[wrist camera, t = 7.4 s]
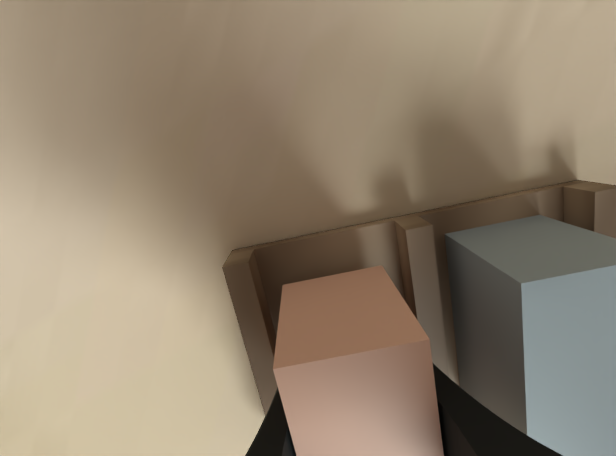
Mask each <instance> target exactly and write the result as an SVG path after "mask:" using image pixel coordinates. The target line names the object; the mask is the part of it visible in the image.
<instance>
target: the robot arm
mask: <svg viewBox="0 0 616 456" xmlns="http://www.w3.org/2000/svg"><path fill="white" fill-rule="evenodd" d="M433 371H434V379H435V387H436V396H437V404H438V412H439V420H440V428H441V437H442V445H443V453H444V456H563V455H561V454H559V453H557V452H555V451H554V450H552V449H550V448H548V447H546V446H544V445H543V444H541V443H539V442H537V441H536V440H534V439H532V438H531V437H529V436H527V435H526V434H524V433H523V432H521V431H520V430H518V429H516V428H515V427H513V426H512V425H510V424H509V423H507V422H506V421H504V420H503V419H501V418H500V417H499V416H497V415H496V414H494V413H493V412H492V411H490V410H489V409H488V408H486V407H485V406H483V405H482V404H481V403H480V402H478V401H477V400H476V399H474V398H473V397H472V396H471V395H469V394H468V393H467V392H466V391H464V390H463V389H462V388H461V387H459V386H458V385H457V384H456V383H455V382H454V381H452V380H451V379H450V378H449V377H448V376H447V375H446V374H444V373H443V372H442V371H441V370H440V369H439V368H438V367H437V366H436V365H435V364H434V363H433ZM245 456H296V452H295V448H294V445H293V441H292V437H291V434H290V430H289V426H288V423H287V419H286V415H285V412H284V408H283V404H282V401H281V397H280V393H279V390H278V387H277V390H276V393H275V395H274V398H273V400H272V403H271V405H270V407H269V410H268V412H267V414H266V416H265V418H264V421H263V423H262V425H261V427H260V429H259V431H258V433H257V435H256V437H255V439H254V441H253V443H252V444H251V446H250V448H249V450H248V452H247V454H246V455H245Z"/></svg>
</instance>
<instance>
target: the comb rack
mask: <svg viewBox="0 0 616 456" xmlns="http://www.w3.org/2000/svg"><path fill="white" fill-rule="evenodd" d="M536 215H542V216H545V217H548V218H551V219H555V220H558V221H561V222H564V223H567V224H571V225H574V226H577V227H580V228H583V229H587V230H590V231H593V232H596V233H599V234H603V235H606V236H609V237H612V238H616V185H609V184H602V183H595V182H588V181H581V180H576V181H571V182H566V183H561V184H556V185H552V186H547V187H542V188H537V189H532V190H527V191H522V192H517V193H512V194H507V195H502V196H497V197H492V198H488V199H483V200H478V201H473V202H468V203H463V204H458V205H453V206H448V207H443V208H438V209H433V210H428V211H424V212H419V213H414V214H409V215H404V216H399V217H394V218H389V219H384V220H379V221H374V222H369V223H364V224H360V225H355V226H350V227H345V228H340V229H335V230H330V231H325V232H320V233H315V234H310V235H305V236H300V237H295V238H291V239H286V240H281V241H276V242H271V243H266V244H261V245H256V246H251V247H246V248H241V249H236V250H233V251H232V252H231V254H230V255H229V257H228V259H227V260H226V262H225V264H224V265H223V267H222V268H223V271H224V275H225V278H226V282H227V285H228V289H229V292H230V295H231V299H232V302H233V306H234V309H235V313H236V316H237V320H238V323H239V326H240V330H241V333H242V337H243V340H244V344H245V347H246V351H247V354H248V357H249V361H250V364H251V368H252V371H253V375H254V378H255V381H256V385H257V388H258V392H259V395H260V399H261V402H262V406H263V409H264V412H265V416H266V414H267V412H268V410H269V407H270V405H271V403H272V400H273V398H274V395H275V393H276V390H277V387H278V386H277V382H276V379H275V375H274V371H273V364H274V356H275V347H276V338H277V330H278V321H279V312H280V304H281V295H282V286H283V285H285V284H290V283H295V282H300V281H305V280H310V279H315V278H320V277H325V276H330V275H335V274H340V273H345V272H350V271H355V270H360V269H365V268H370V267H375V266H380V265H382V266H383V268H384V269H385V271H386V273H387V274H388V276H389V277H390V279H391V280H392V282H393V283H394V285H395V286H396V288H397V290H398V291H399V293H400V294H401V296H402V297H403V299H404V300H405V302H406V303H407V305H408V307H409V308H410V310H411V311H412V313H413V314H414V316H415V317H416V319H417V320H418V322H419V324H420V325H421V327H422V328H423V330H424V331H425V333H426V334H427V336H428V337H429V339H430V346H431V355H432V363H434V364H435V365H436V366H437V367H438V368H439V369H440V370H441V371H442V372H443V373H444V374H446V375H447V376H448V377H449V378H450V379H451V380H452V381H454V382H455V383H456V384H457V385H458V386H459V387H460V382H459V372H458V362H457V352H456V342H455V332H454V322H453V312H452V302H451V292H450V283H449V273H448V263H447V253H446V243H445V234H447V233H451V232H456V231H461V230H466V229H471V228H476V227H481V226H486V225H491V224H496V223H501V222H506V221H511V220H516V219H521V218H526V217H531V216H536Z"/></svg>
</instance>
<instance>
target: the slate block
mask: <svg viewBox="0 0 616 456" xmlns="http://www.w3.org/2000/svg"><path fill="white" fill-rule="evenodd" d="M445 243H446V253H447V263H448V273H449V283H450V292H451V302H452V312H453V322H454V332H455V342H456V352H457V362H458V372H459V382H460V387H461V388H462V389H463V390H464V391H466V392H467V393H468V394H469V395H471V396H472V397H473V398H474V399H476V400H477V401H478V402H480V403H481V404H482V405H483V406H485V407H486V408H488V409H489V410H490V411H492V412H493V413H494V414H496V415H497V416H499V417H500V418H501V419H503V420H504V421H506V422H507V423H509V424H510V425H512V426H513V427H515V428H516V429H518V430H520V431H521V432H523V433H524V434H526V435H527V436H529V437H531V438H532V439H534V440H536V441H537V442H539V443H541V444H543V445H544V446H546V447H548V448H550V449H552V450H554V451H555V452H557V453H559V454H561V455H563V456H616V238H612V237H609V236H606V235H603V234H599V233H596V232H593V231H590V230H587V229H583V228H580V227H577V226H574V225H571V224H567V223H564V222H561V221H558V220H555V219H551V218H548V217H545V216H542V215H536V216H531V217H526V218H521V219H516V220H511V221H506V222H501V223H496V224H491V225H486V226H481V227H476V228H471V229H466V230H461V231H456V232H451V233H447V234H445Z"/></svg>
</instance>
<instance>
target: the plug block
mask: <svg viewBox="0 0 616 456" xmlns="http://www.w3.org/2000/svg"><path fill="white" fill-rule="evenodd" d="M273 371H274V375H275V379H276V382H277V386H278V390H279V393H280V397H281V401H282V404H283V408H284V412H285V415H286V419H287V423H288V426H289V430H290V434H291V437H292V441H293V445H294V448H295V452H296V456H444V453H443V445H442V437H441V428H440V420H439V412H438V404H437V396H436V387H435V379H434V371H433V363H432V355H431V346H430V339H429V337H428V336H427V334H426V333H425V331H424V330H423V328H422V327H421V325H420V324H419V322H418V320H417V319H416V317H415V316H414V314H413V313H412V311H411V310H410V308H409V307H408V305H407V303H406V302H405V300H404V299H403V297H402V296H401V294H400V293H399V291H398V290H397V288H396V286H395V285H394V283H393V282H392V280H391V279H390V277H389V276H388V274H387V273H386V271H385V269H384V268H383V266H382V265H380V266H375V267H370V268H365V269H360V270H355V271H350V272H345V273H340V274H335V275H330V276H325V277H320V278H315V279H310V280H305V281H300V282H295V283H290V284H285V285H283V286H282V295H281V304H280V312H279V321H278V330H277V338H276V347H275V356H274V364H273Z"/></svg>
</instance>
